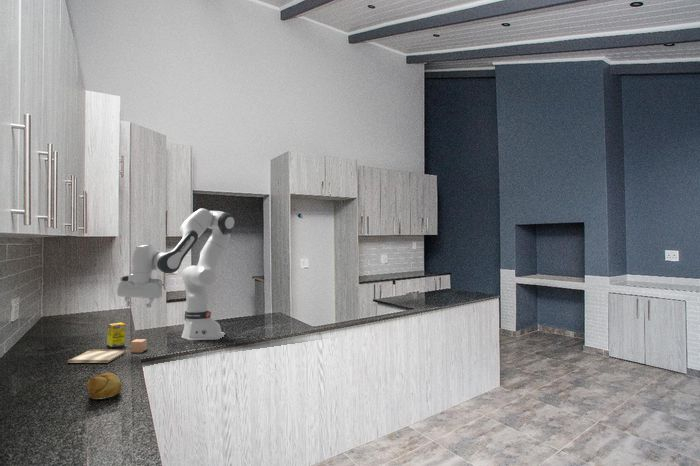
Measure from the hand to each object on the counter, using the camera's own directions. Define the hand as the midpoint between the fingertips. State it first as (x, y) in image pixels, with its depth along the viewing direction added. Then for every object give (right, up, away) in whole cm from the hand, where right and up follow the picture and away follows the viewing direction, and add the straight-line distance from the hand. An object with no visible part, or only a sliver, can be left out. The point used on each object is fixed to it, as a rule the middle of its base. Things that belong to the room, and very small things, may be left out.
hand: (138, 306), depth 188 cm
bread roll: (+18, -20, -55) cm, 61 cm away
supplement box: (-14, -20, +4) cm, 25 cm away
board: (-10, -20, -16) cm, 27 cm away
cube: (+1, -21, -3) cm, 21 cm away
